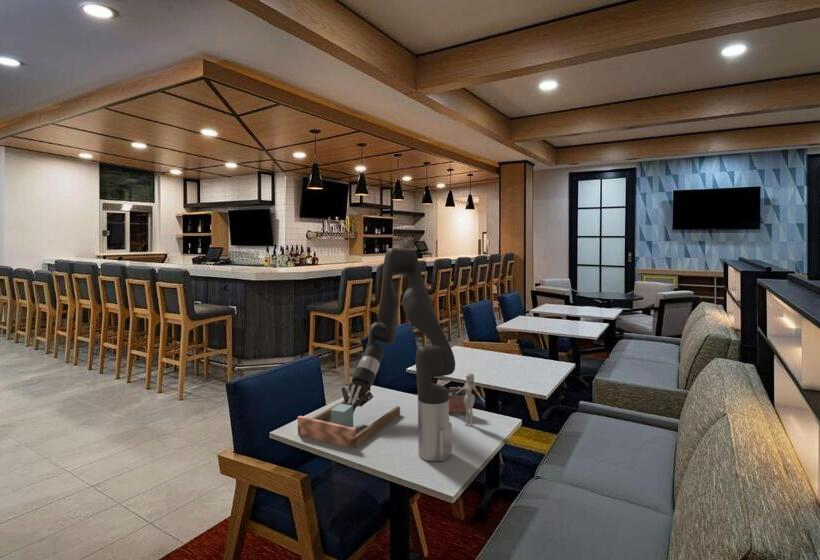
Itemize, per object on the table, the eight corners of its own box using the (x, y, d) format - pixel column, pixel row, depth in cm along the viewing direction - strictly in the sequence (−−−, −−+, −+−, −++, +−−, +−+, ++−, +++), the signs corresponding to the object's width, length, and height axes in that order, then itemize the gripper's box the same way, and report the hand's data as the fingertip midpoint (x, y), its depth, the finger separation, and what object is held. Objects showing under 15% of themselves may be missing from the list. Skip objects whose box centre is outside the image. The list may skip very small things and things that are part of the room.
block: (353, 428, 158) (352, 405, 157) (344, 435, 153) (343, 412, 152) (340, 426, 160) (339, 403, 159) (331, 433, 155) (330, 409, 154)
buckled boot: (469, 412, 171) (469, 386, 170) (469, 416, 167) (469, 389, 166) (447, 411, 171) (447, 385, 170) (447, 415, 168) (447, 388, 167)
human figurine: (452, 421, 163) (452, 371, 161) (458, 418, 165) (458, 369, 164) (480, 431, 155) (481, 378, 153) (487, 427, 157) (487, 375, 155)
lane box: (400, 414, 169) (399, 398, 169) (353, 448, 143) (353, 429, 143) (349, 404, 180) (349, 389, 179) (298, 434, 154) (297, 416, 153)
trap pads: (374, 428, 158) (374, 426, 158) (361, 437, 151) (361, 436, 151) (331, 418, 166) (331, 417, 166) (317, 427, 159) (317, 426, 159)
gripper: (347, 363, 169) (327, 407, 160) (377, 368, 163) (359, 414, 154) (355, 373, 174) (336, 417, 165) (385, 378, 168) (368, 423, 159)
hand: (347, 415), depth 159 cm, fingers closed
